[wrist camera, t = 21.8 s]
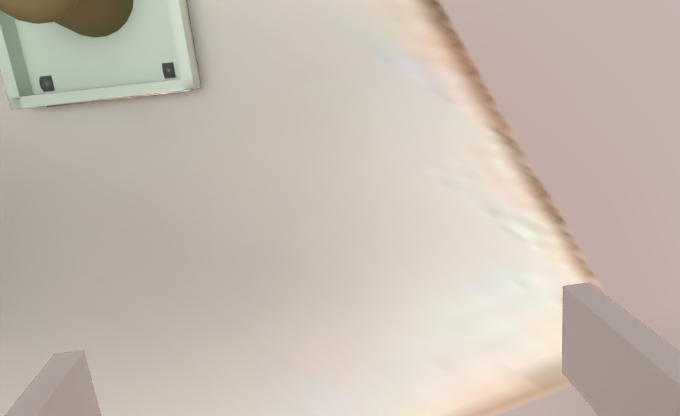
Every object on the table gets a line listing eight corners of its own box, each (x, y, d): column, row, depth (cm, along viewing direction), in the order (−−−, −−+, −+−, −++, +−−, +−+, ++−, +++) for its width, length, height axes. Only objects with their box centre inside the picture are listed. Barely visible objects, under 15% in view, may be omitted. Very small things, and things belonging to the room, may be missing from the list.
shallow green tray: (30, 105, 42) (10, 109, 39) (-18, -81, 38) (-44, -93, 35) (200, 87, 42) (194, 89, 39) (169, -99, 39) (159, -112, 36)
